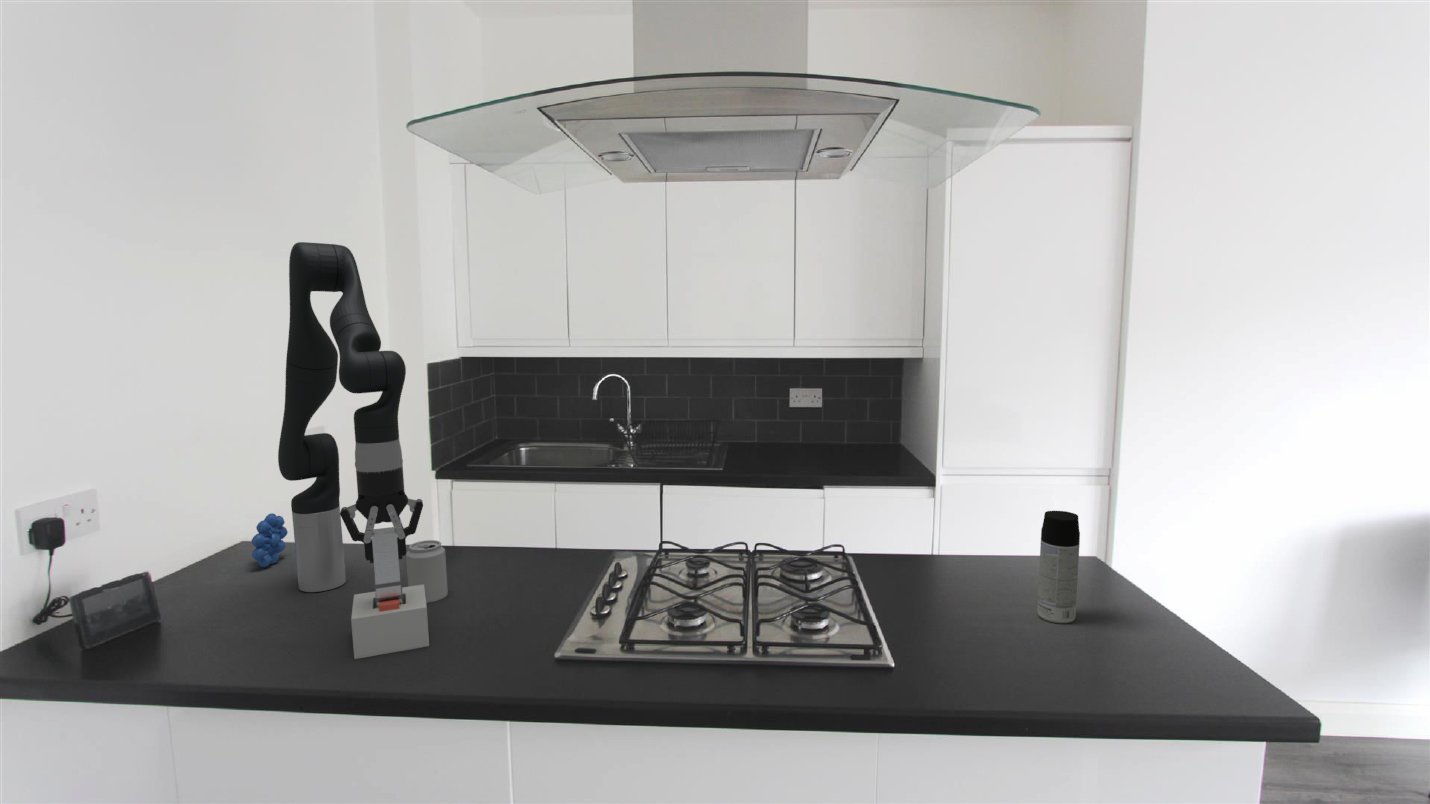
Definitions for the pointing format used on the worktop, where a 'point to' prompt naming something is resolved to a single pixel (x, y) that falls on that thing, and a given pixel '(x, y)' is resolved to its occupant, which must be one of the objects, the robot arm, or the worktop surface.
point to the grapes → (269, 540)
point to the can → (428, 568)
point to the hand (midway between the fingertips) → (386, 559)
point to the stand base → (389, 623)
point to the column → (386, 566)
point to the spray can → (1058, 567)
